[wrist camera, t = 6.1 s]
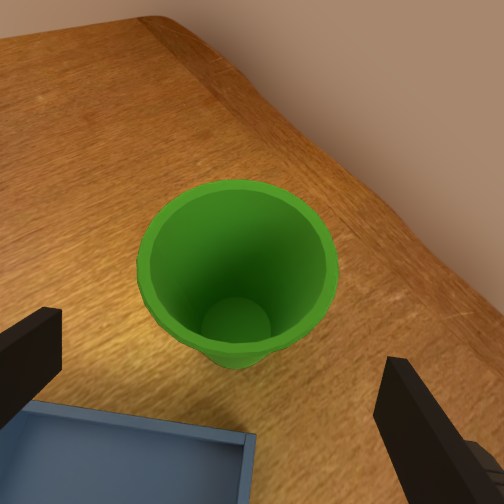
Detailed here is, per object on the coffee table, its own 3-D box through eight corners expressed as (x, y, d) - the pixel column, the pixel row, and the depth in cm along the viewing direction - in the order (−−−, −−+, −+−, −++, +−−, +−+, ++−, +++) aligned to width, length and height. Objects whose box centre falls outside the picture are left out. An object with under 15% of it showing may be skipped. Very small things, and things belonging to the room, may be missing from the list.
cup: (292, 412, 23) (336, 376, 13) (154, 386, 23) (102, 332, 14) (305, 287, 27) (344, 193, 18) (189, 266, 28) (168, 165, 18)
